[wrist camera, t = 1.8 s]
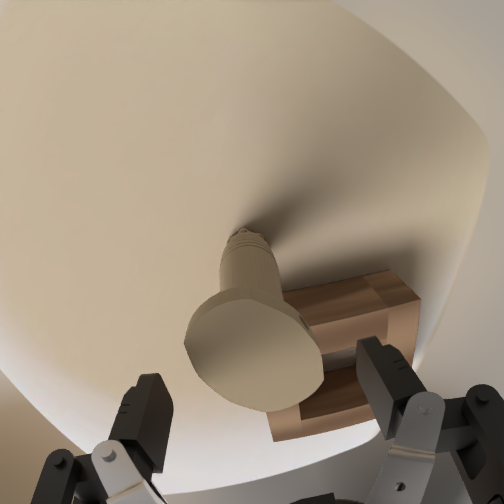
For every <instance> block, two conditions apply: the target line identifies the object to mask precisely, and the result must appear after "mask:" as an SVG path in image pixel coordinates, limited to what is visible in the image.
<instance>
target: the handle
mask: <svg viewBox="0 0 504 504" xmlns="http://www.w3.org/2000/svg"><path fill="white" fill-rule="evenodd" d="M184 345H185V348H186V351H187V353H188V356H189V358H190V361H191V363H192V365H193V367H194V369H195V371H196V373H197V374H198V376H199V377H200V378H201V379H202V380H203V381H204V382H205V383H206V384H207V385H208V386H209V387H211V388H212V389H213V390H214V391H216V392H217V393H218V394H219V395H221V396H222V397H223V398H225V399H227V400H228V401H230V402H232V403H235V404H237V405H240V406H243V407H247V408H250V409H254V410H257V411H261V412H273V411H278V410H282V409H285V408H288V407H291V406H293V405H295V404H297V403H299V402H301V401H303V400H304V399H306V398H308V397H309V396H310V395H311V394H313V393H314V392H315V391H316V390H317V389H318V388H319V386H320V385H321V383H322V382H323V380H324V374H323V363H322V356H321V353H320V349H319V346H318V343H317V340H316V338H315V335H314V333H313V332H312V330H311V329H310V327H309V326H308V324H307V323H306V322H305V320H304V319H303V317H302V316H301V315H300V313H299V312H297V311H296V310H295V309H294V308H293V307H292V306H290V305H289V304H288V303H286V302H284V300H283V294H282V288H281V282H280V276H279V270H278V266H277V263H276V260H275V257H274V255H273V253H272V251H271V249H270V247H269V245H268V244H267V242H266V240H265V238H264V237H263V235H262V234H260V233H254V232H251V231H249V230H247V229H246V228H242V229H240V231H239V232H238V233H237V234H236V235H234V236H230V237H229V239H228V241H227V244H226V247H225V249H224V252H223V255H222V258H221V264H220V292H219V293H217V294H216V295H214V296H212V297H211V298H209V299H208V300H207V301H205V302H204V303H203V304H202V305H201V306H200V307H199V308H198V309H197V310H196V312H195V313H194V314H193V316H192V318H191V320H190V322H189V325H188V328H187V332H186V336H185V340H184Z"/></svg>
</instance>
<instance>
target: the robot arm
mask: <svg viewBox="0 0 504 504" xmlns="http://www.w3.org/2000/svg"><path fill="white" fill-rule="evenodd" d="M356 372H357V377H358V380H359V383H360V385H361V387H362V389H363V391H364V394H365V396H366V398H367V400H368V402H369V405H370V407H371V409H372V411H373V413H374V416H375V418H376V420H377V422H378V424H379V427H380V429H381V431H382V433H383V436H384V438H385V440H388V439H391V438H395V440H394V443H393V445H392V447H391V448H390V450H389V452H388V455H387V457H386V460H385V462H384V464H383V466H382V469H381V471H380V473H379V475H378V478H377V480H376V482H375V484H374V486H373V488H372V490H371V492H370V495H369V496H368V498H367V500H366V502H365V503H362V502H358V501H354V500H348V499H335V498H334V493H329V494H325V495H320V496H315V497H310V498H306V499H301V500H298V501H296V502H293V503H291V504H420V503H421V500H422V497H423V494H424V491H425V489H426V486H427V483H428V480H429V476H430V474H431V470H432V467H433V464H434V460H435V455H434V453H441V452H448V451H450V454H451V456H452V458H453V460H454V462H455V464H456V466H457V469H458V471H459V473H460V475H461V478H462V480H463V482H464V484H465V487H466V489H467V491H468V494H469V496H470V498H471V501H472V503H473V504H504V400H503V399H502V397H501V396H500V395H499V393H498V392H497V391H496V390H495V389H494V388H493V387H491V386H489V385H485V384H479V385H475V386H473V387H472V388H470V389H469V390H468V392H467V394H466V397H461V398H453V399H443V398H442V397H441V396H439V395H438V394H436V393H433V392H428V391H427V390H426V388H425V387H424V385H423V384H422V382H421V381H420V380H419V378H418V376H417V375H416V373H415V372H414V370H413V369H412V368H411V367H410V365H409V363H408V362H407V360H405V357H404V356H403V355H402V353H401V352H400V350H399V349H397V348H395V347H394V346H392V345H390V344H388V345H384V346H383V345H382V344H381V342H380V341H379V339H378V338H377V336H375V335H374V336H370V337H366V338H363V339H359V340H357V347H356ZM173 410H174V409H173V401H172V398H171V396H170V394H169V392H168V390H167V388H166V386H165V384H164V382H163V379H162V377H161V375H160V374H159V373H152V374H141V375H140V377H139V379H138V382H137V385H136V387H131V388H130V389H129V390H128V391H127V392H126V394H125V395H124V397H123V399H122V402H121V406H120V407H119V410H118V414H117V416H116V418H115V421H114V424H113V427H112V430H111V433H110V435H109V438H108V440H106V441H103V442H101V443H99V444H98V445H97V446H96V447H95V448H94V449H93V451H92V453H91V454H86V455H81V456H74V455H73V454H72V453H71V452H70V451H69V450H66V449H58V450H55V451H53V452H52V453H51V454H50V455H49V456H48V457H47V459H46V461H45V464H44V467H43V469H42V472H41V475H40V478H39V481H38V484H37V487H36V489H35V492H34V495H33V498H32V501H31V504H71V502H72V499H73V495H75V496H74V501H73V504H168V502H167V501H166V500H165V498H164V497H163V495H162V494H161V493H160V491H159V490H158V488H157V487H156V486H155V484H154V483H153V481H152V480H151V478H152V473H162V472H163V466H164V460H165V455H166V449H167V443H168V438H169V433H170V427H171V422H172V417H173Z"/></svg>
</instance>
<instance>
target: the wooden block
mask: <svg viewBox="0 0 504 504" xmlns="http://www.w3.org/2000/svg"><path fill="white" fill-rule="evenodd" d="M282 294H283V300H284V302H286V303H288V304H289V305H290V306H292V307H293V308H294V309H295V310H296V311H297V312H299V313H300V315H301V316H302V317H303V319H304V320H305V322H306V323H307V324H308V326H309V327H310V329H311V330H312V332H313V333H314V335H315V338H316V340H317V343H318V346H319V349H320V353H321V355H323V354H328V353H332V352H336V351H340V350H344V349H349V348H353V347H356V346H357V340H359V339H363V338H366V337H370V336H374V335H375V336H377V338H378V339H379V341H380V342H381V344H382V345H383V346H384V345H388V344H390V345H392V346H394V347H395V348H397V349H399V350H400V352H401V353H402V355H403V356H404V357H405V360H407V362H408V363H409V365H410V367H411V368H412V363H413V357H414V351H415V344H416V337H417V329H418V321H419V312H420V302H421V299H420V298H419V297H418V296H417V295H416V294H415V293H414V292H413V291H412V290H411V289H410V288H409V287H408V286H407V285H406V284H405V283H404V282H403V281H402V280H401V279H400V278H399V277H398V276H397V275H395V274H394V273H393V272H392V271H391V270H387V271H383V272H379V273H374V274H370V275H365V276H361V277H356V278H352V279H347V280H342V281H338V282H333V283H328V284H323V285H318V286H313V287H308V288H303V289H298V290H293V291H288V292H283V293H282ZM323 374H324V380H323V382H322V383H321V385H320V386H319V388H318V389H317V390H316V391H315V392H314V393H313V394H311V395H310V396H309V397H308V398H306V399H304V400H303V401H301V402H299V403H297V404H295V405H293V406H291V407H288V408H285V409H282V410H278V411H273V412H266V414H267V418H268V422H269V426H270V430H271V434H272V437H273V441H274V442H278V441H284V440H290V439H295V438H300V437H305V436H310V435H315V434H319V433H324V432H328V431H332V430H336V429H340V428H344V427H348V426H352V425H355V424H359V423H363V422H366V421H369V420H373V419H376V418H375V416H374V413H373V411H372V409H371V407H370V405H369V402H368V400H367V398H366V396H365V394H364V391H363V389H362V387H361V385H360V383H359V380H358V377H357V372H356V365H355V366H351V367H347V368H343V369H339V370H335V371H331V372H326V373H323Z"/></svg>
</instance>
